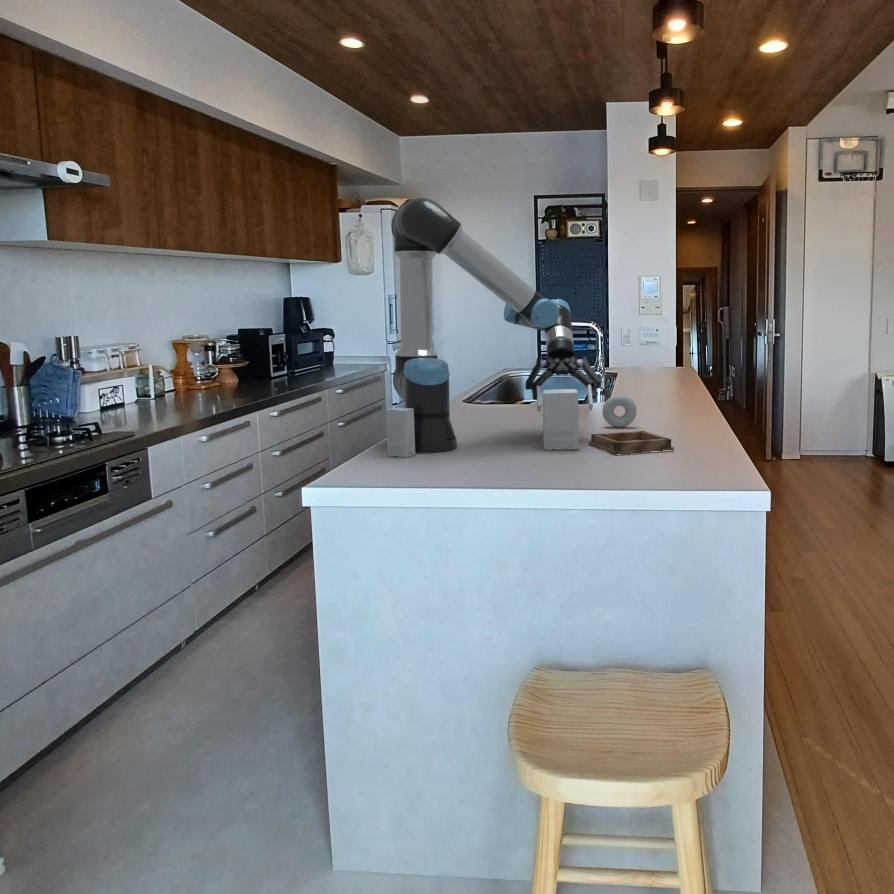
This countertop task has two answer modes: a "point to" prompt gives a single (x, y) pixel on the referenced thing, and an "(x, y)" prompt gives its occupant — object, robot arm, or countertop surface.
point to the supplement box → (560, 419)
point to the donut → (628, 406)
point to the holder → (630, 442)
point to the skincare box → (400, 432)
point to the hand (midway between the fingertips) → (565, 407)
